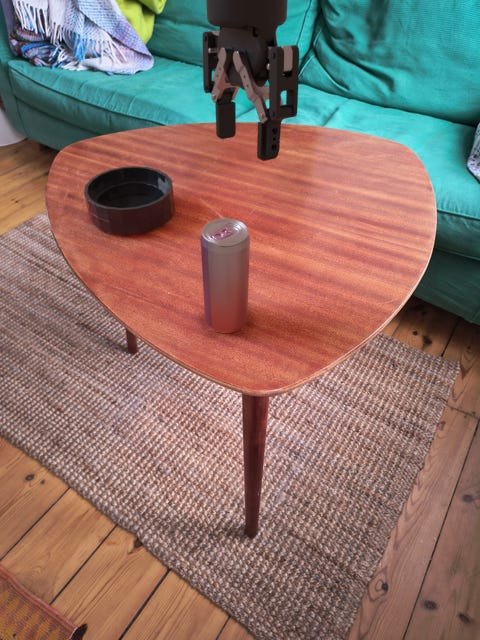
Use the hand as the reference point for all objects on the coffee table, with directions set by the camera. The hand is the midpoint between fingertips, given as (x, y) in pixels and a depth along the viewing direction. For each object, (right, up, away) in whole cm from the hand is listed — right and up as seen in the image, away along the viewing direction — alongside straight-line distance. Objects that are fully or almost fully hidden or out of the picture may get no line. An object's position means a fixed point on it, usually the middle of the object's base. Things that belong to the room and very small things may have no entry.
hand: (245, 147), depth 51 cm
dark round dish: (-20, +1, +34) cm, 40 cm away
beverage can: (-3, -19, +15) cm, 24 cm away
